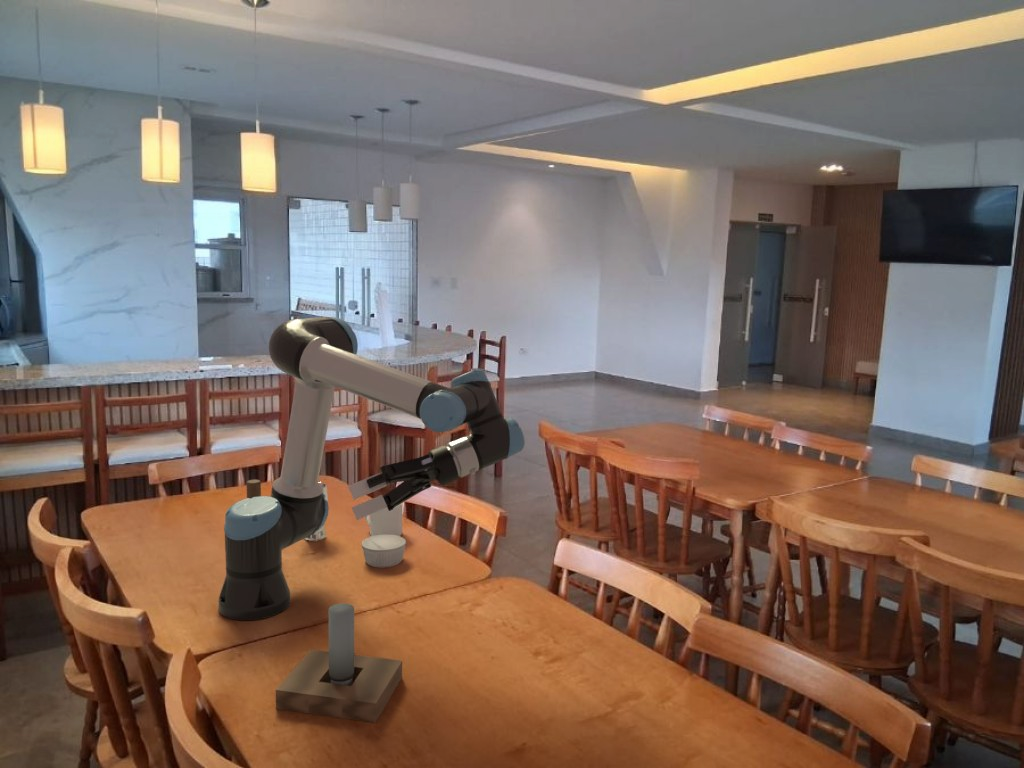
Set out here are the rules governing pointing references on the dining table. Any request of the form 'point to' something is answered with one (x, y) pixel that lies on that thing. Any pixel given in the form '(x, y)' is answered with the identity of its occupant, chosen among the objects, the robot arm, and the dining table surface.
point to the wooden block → (253, 488)
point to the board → (340, 687)
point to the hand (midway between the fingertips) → (352, 503)
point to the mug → (386, 522)
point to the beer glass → (321, 532)
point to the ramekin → (383, 550)
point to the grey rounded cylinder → (341, 644)
